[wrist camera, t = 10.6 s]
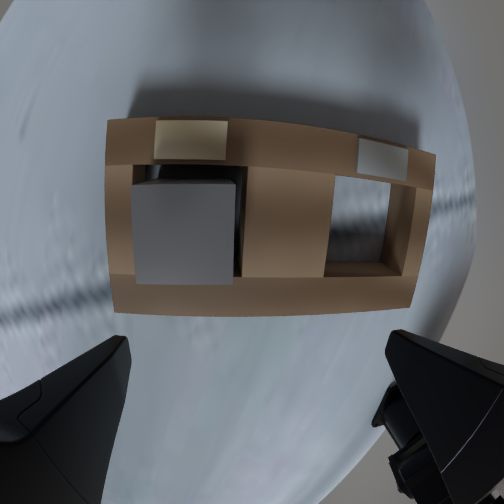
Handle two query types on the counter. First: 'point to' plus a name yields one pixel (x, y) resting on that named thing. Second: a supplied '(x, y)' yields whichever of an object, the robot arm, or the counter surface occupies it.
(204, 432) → the counter surface
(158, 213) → the plug
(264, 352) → the counter surface
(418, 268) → the socket bar
